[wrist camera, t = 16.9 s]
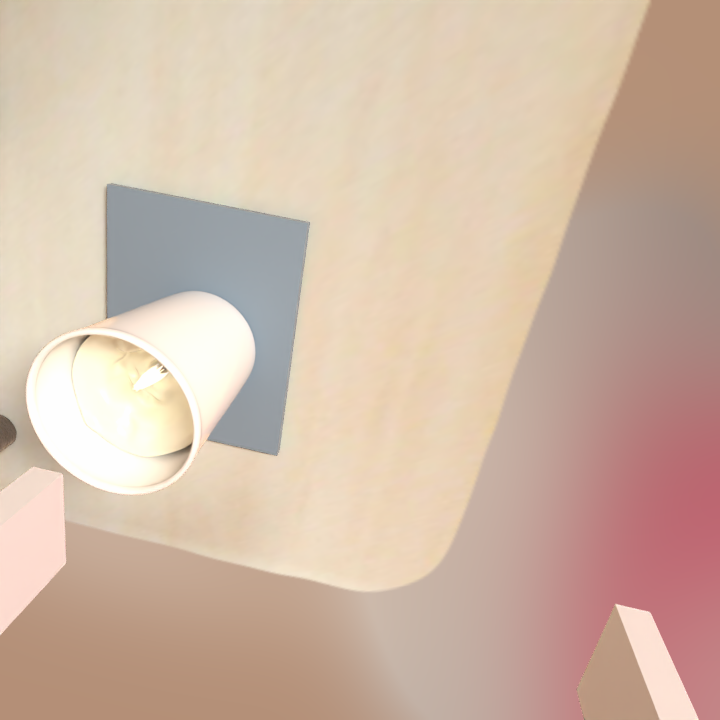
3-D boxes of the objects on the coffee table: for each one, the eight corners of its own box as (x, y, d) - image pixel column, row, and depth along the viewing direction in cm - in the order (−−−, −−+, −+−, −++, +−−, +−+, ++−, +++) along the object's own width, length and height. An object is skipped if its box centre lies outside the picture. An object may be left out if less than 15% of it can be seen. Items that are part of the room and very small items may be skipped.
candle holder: (234, 260, 38) (147, 305, 27) (287, 387, 41) (227, 475, 29) (116, 301, 40) (-9, 358, 29) (173, 418, 43) (79, 511, 32)
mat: (111, 183, 38) (106, 184, 37) (309, 222, 37) (307, 223, 36) (111, 413, 44) (107, 417, 44) (279, 451, 43) (277, 455, 43)
